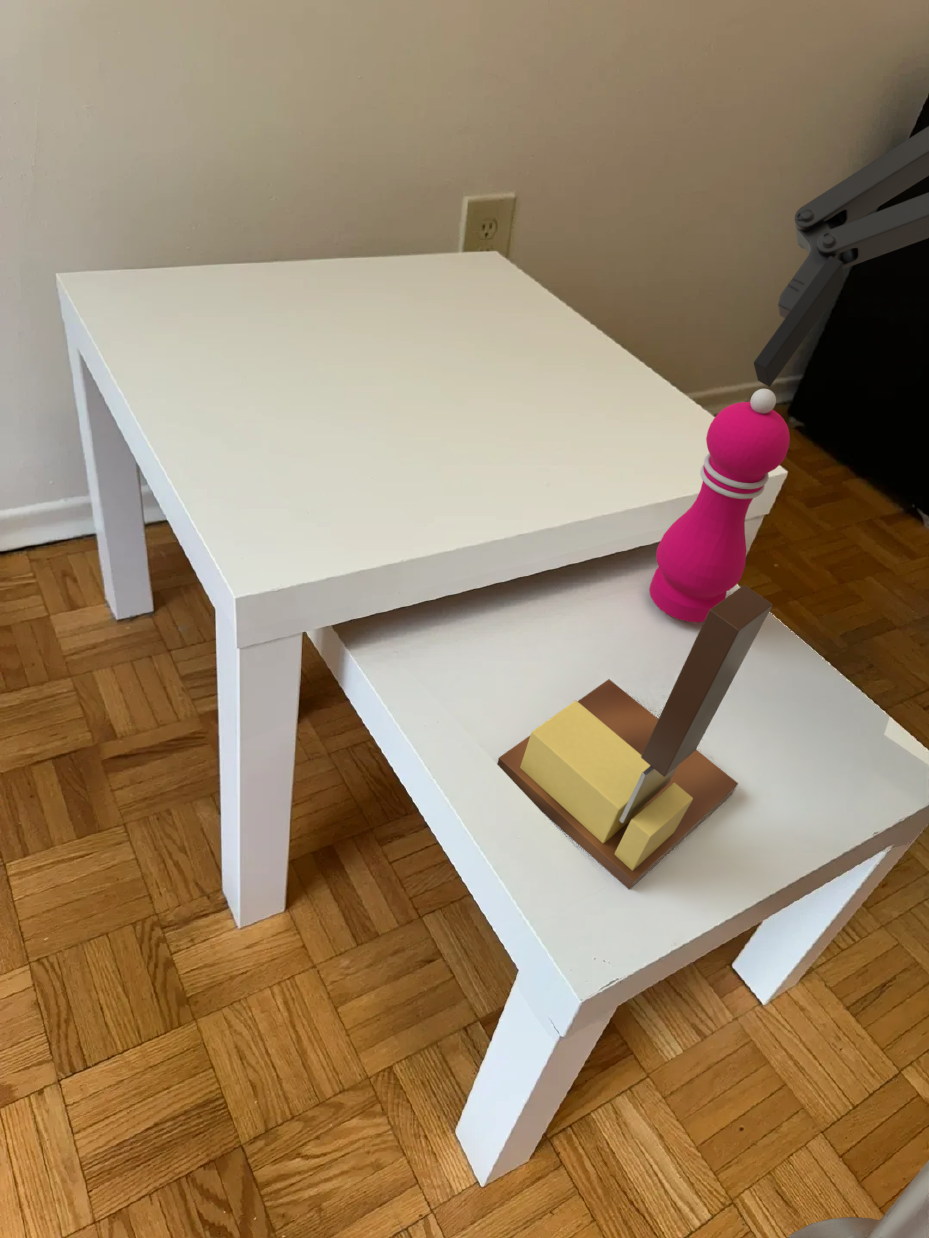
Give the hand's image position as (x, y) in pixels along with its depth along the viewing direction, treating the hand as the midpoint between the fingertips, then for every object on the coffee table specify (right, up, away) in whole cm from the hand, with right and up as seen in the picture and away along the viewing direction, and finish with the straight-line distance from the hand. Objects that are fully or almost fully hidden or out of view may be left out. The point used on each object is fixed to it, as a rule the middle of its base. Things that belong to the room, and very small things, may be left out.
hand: (874, 439), depth 48 cm
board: (-10, -21, +18) cm, 29 cm away
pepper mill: (-2, -8, +33) cm, 34 cm away
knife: (-10, -21, +11) cm, 25 cm away
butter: (-12, -21, +15) cm, 28 cm away
